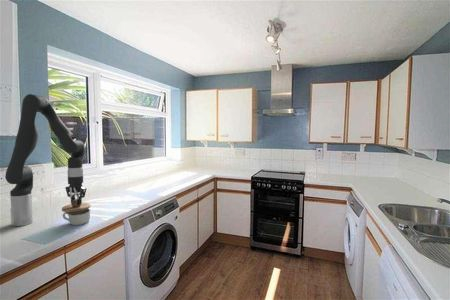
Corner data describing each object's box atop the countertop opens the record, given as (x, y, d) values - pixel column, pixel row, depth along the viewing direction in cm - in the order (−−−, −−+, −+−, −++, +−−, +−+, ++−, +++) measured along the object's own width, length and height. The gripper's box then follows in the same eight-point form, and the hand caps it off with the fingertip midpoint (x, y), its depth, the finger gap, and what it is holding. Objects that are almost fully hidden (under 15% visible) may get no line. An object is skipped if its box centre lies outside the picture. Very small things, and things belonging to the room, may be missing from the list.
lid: (55, 210, 132) (55, 201, 132) (78, 203, 145) (77, 195, 145) (74, 213, 128) (74, 204, 127) (95, 206, 141) (95, 197, 141)
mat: (21, 240, 115) (21, 239, 115) (54, 228, 130) (54, 226, 130) (44, 246, 110) (44, 244, 110) (75, 232, 125) (75, 230, 125)
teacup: (94, 220, 143) (93, 207, 142) (83, 228, 132) (83, 214, 131) (70, 220, 142) (70, 207, 142) (58, 228, 132) (58, 214, 131)
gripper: (60, 175, 134) (61, 205, 135) (78, 177, 129) (79, 207, 131) (72, 173, 141) (73, 201, 142) (90, 175, 136) (91, 204, 138)
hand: (76, 204), depth 136 cm, fingers closed on lid, 4 cm apart
